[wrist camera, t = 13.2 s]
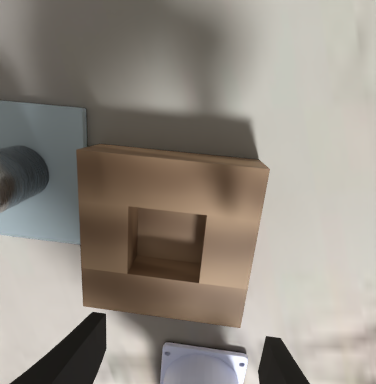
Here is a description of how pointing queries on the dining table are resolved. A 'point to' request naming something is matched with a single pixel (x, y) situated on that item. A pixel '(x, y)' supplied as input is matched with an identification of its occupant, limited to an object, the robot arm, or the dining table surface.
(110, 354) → the dining table surface
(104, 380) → the dining table surface
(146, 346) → the dining table surface
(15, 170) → the steel key peg
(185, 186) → the block
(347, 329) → the dining table surface
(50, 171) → the rubber mat
